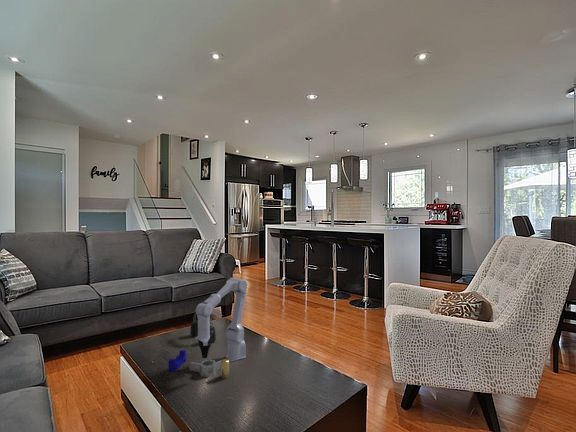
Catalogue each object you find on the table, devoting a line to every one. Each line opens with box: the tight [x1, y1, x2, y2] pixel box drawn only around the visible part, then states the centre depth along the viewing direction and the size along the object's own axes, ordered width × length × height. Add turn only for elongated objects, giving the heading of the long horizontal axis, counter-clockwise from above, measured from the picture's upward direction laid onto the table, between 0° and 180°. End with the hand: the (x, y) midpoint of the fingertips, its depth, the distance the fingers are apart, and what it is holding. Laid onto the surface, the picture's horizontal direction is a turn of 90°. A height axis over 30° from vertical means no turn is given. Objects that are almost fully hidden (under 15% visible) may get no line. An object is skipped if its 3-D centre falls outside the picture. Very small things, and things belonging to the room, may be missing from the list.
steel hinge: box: [189, 359, 222, 378], centre depth 159 cm, size 18×12×5 cm
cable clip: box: [168, 349, 187, 373], centre depth 164 cm, size 12×4×6 cm, turn 169°
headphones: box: [189, 311, 217, 344], centre depth 200 cm, size 22×6×20 cm, turn 48°
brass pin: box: [220, 358, 230, 380], centre depth 152 cm, size 4×4×8 cm
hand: (203, 354), depth 155 cm, fingers open, 7 cm apart
